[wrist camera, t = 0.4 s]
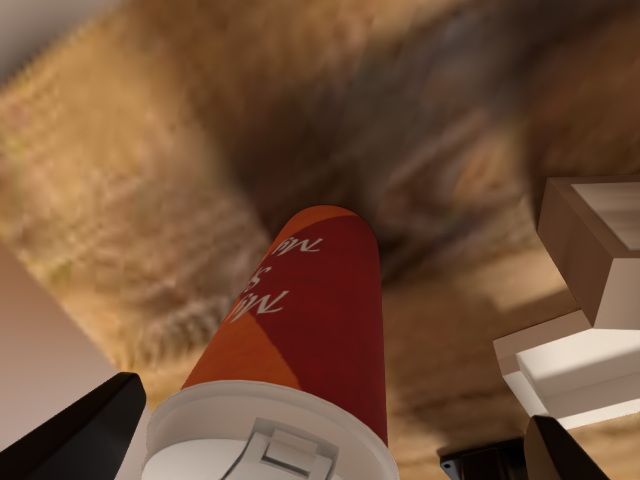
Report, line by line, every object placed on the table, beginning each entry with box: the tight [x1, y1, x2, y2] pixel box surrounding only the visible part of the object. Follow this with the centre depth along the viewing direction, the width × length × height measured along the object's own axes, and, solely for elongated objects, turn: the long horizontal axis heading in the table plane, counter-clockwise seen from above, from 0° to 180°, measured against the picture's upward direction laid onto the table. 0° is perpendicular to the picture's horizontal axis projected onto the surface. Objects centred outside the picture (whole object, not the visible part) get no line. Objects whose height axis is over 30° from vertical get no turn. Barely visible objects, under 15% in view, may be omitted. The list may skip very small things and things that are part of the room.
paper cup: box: [141, 205, 400, 480], centre depth 17 cm, size 8×8×14 cm
